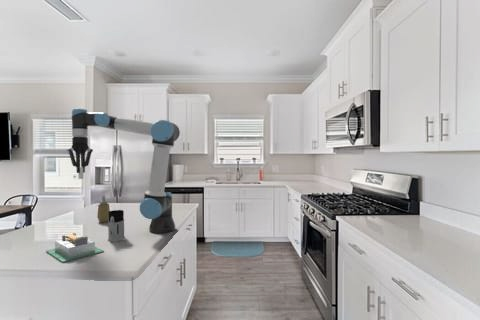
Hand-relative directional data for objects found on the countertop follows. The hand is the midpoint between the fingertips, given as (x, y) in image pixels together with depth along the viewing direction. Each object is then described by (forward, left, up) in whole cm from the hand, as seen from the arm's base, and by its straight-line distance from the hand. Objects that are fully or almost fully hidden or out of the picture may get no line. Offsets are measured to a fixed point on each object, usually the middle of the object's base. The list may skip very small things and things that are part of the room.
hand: (80, 178), depth 156 cm
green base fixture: (-16, +24, -32) cm, 43 cm away
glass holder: (-24, +5, -33) cm, 41 cm away
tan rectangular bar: (-15, +24, -27) cm, 39 cm away
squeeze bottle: (+10, -33, -33) cm, 47 cm away
